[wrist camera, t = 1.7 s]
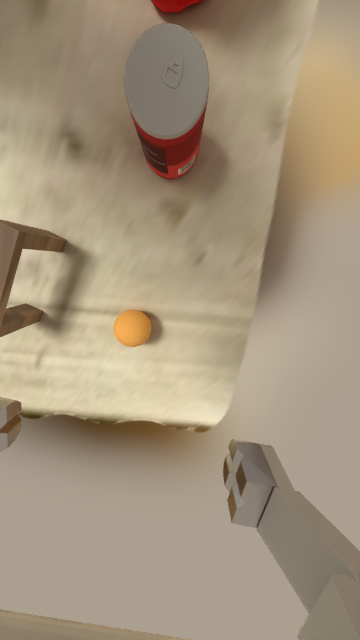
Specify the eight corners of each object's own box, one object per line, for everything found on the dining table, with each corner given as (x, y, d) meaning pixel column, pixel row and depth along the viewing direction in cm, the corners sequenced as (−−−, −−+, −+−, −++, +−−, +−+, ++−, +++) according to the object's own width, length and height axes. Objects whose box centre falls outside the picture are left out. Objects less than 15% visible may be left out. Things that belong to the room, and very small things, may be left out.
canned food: (204, 122, 28) (220, 34, 17) (191, 187, 30) (197, 145, 19) (149, 107, 27) (130, 8, 17) (140, 174, 29) (118, 124, 19)
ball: (114, 329, 36) (102, 342, 30) (127, 300, 34) (117, 308, 29) (145, 344, 37) (138, 359, 31) (159, 315, 35) (155, 326, 29)
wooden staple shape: (22, 313, 35) (-35, 331, 26) (47, 231, 31) (-8, 217, 22) (39, 320, 35) (-11, 341, 26) (66, 240, 32) (19, 231, 22)
